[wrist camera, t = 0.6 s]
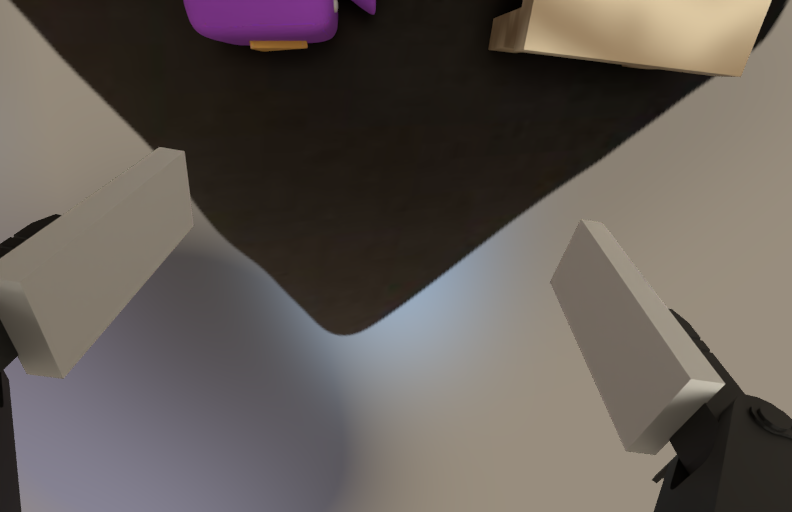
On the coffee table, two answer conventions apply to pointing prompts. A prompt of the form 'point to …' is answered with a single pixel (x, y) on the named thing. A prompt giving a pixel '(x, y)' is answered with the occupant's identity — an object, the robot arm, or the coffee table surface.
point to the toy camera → (268, 21)
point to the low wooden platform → (637, 32)
